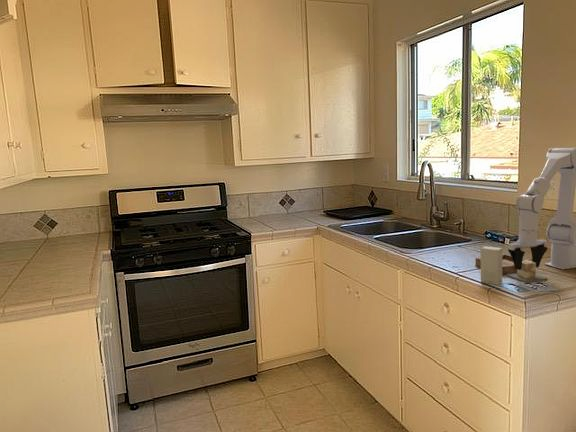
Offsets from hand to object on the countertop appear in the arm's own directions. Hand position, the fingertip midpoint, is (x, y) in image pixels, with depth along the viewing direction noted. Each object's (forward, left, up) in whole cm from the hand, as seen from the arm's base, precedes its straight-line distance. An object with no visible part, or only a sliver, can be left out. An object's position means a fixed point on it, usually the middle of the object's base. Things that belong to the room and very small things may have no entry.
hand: (526, 267), depth 157 cm
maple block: (0, 0, -3) cm, 3 cm away
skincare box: (+14, -1, -4) cm, 15 cm away
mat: (0, 0, -4) cm, 4 cm away
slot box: (-2, -13, -4) cm, 14 cm away
